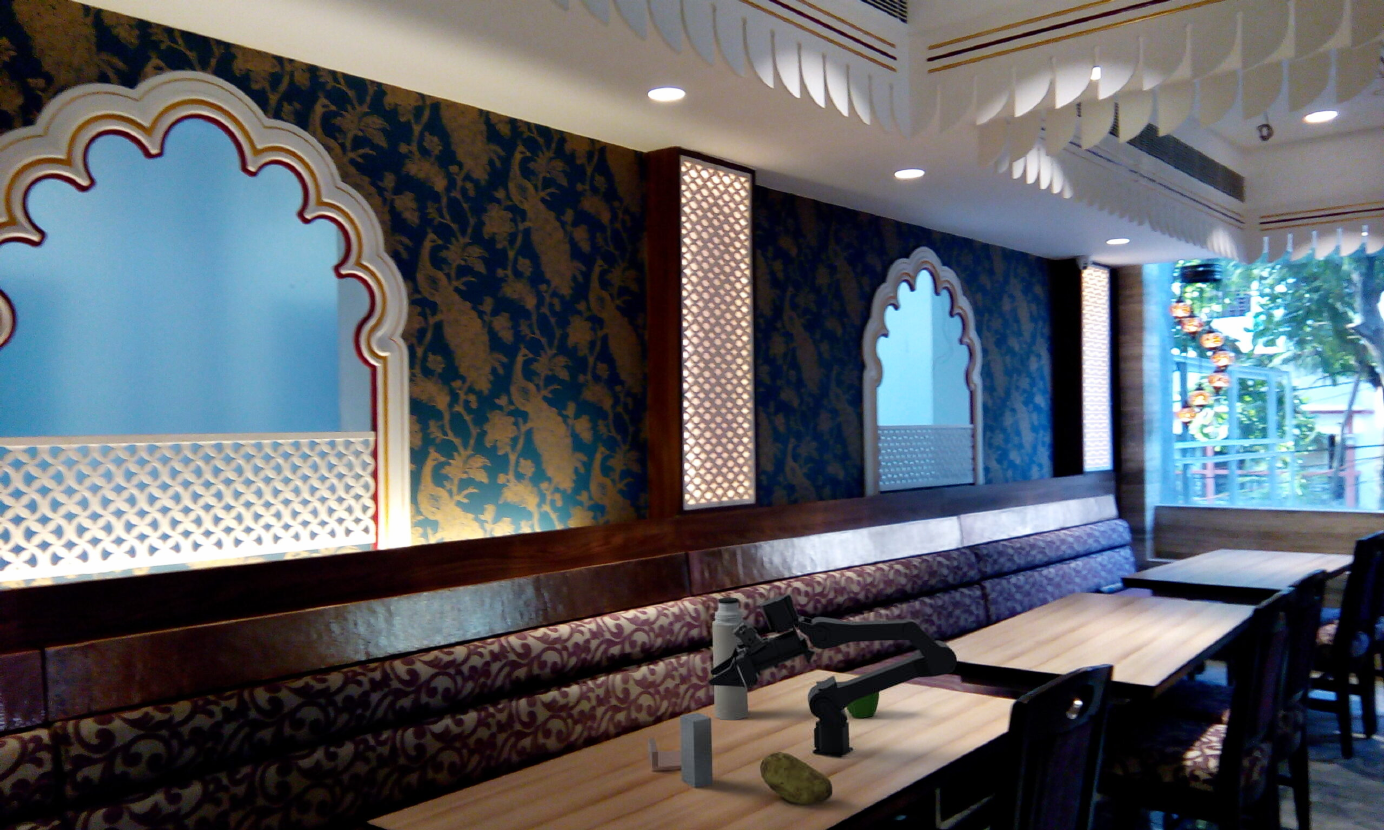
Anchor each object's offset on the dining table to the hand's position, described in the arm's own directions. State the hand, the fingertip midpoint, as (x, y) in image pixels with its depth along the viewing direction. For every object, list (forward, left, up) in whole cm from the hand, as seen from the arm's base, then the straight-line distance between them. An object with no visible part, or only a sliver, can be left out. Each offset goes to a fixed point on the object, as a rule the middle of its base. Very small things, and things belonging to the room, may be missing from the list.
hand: (710, 677), depth 214 cm
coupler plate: (+3, +9, -16) cm, 18 cm away
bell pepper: (-15, -42, -16) cm, 47 cm away
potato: (-29, +16, -16) cm, 37 cm away
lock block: (-8, +17, -16) cm, 24 cm away
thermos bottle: (+12, -27, -16) cm, 34 cm away
